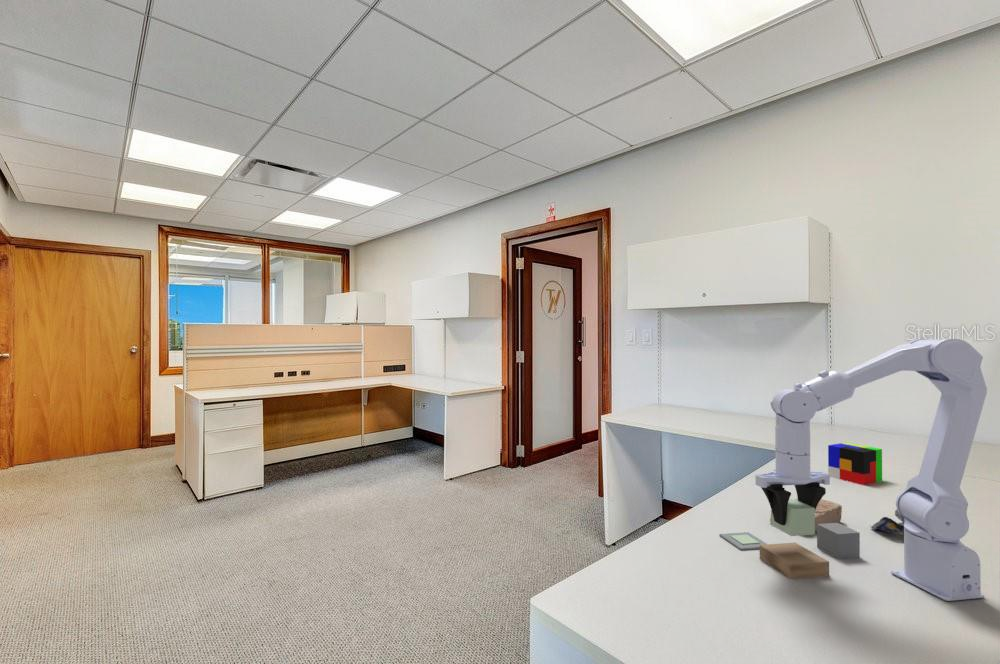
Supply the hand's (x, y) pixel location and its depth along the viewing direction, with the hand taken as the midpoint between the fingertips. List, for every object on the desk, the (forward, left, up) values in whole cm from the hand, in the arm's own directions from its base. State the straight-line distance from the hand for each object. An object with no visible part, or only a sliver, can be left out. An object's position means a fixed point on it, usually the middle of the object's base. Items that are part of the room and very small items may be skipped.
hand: (792, 522), depth 88 cm
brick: (+18, -20, -9) cm, 28 cm away
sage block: (0, 0, -1) cm, 1 cm away
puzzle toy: (+47, -64, -9) cm, 80 cm away
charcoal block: (+4, -14, -8) cm, 17 cm away
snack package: (+9, -37, -9) cm, 39 cm away
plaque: (+11, +2, -8) cm, 14 cm away
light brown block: (0, 0, -9) cm, 9 cm away
